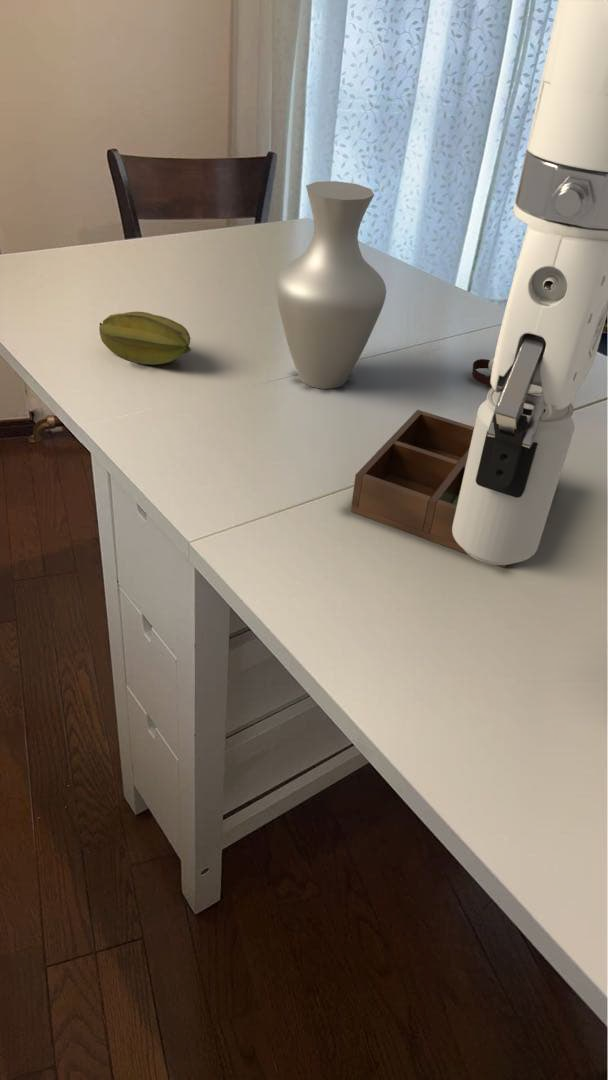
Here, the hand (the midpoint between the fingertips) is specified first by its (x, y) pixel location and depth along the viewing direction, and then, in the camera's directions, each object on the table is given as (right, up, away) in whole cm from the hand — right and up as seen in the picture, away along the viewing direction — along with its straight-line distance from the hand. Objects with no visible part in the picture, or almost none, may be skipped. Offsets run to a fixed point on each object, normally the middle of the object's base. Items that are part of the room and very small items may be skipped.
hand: (514, 463), depth 55 cm
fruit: (-37, +20, +57) cm, 71 cm away
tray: (+2, -1, +34) cm, 34 cm away
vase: (-12, +17, +56) cm, 60 cm away
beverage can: (-1, -6, +4) cm, 7 cm away
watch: (+13, +17, +59) cm, 63 cm away
